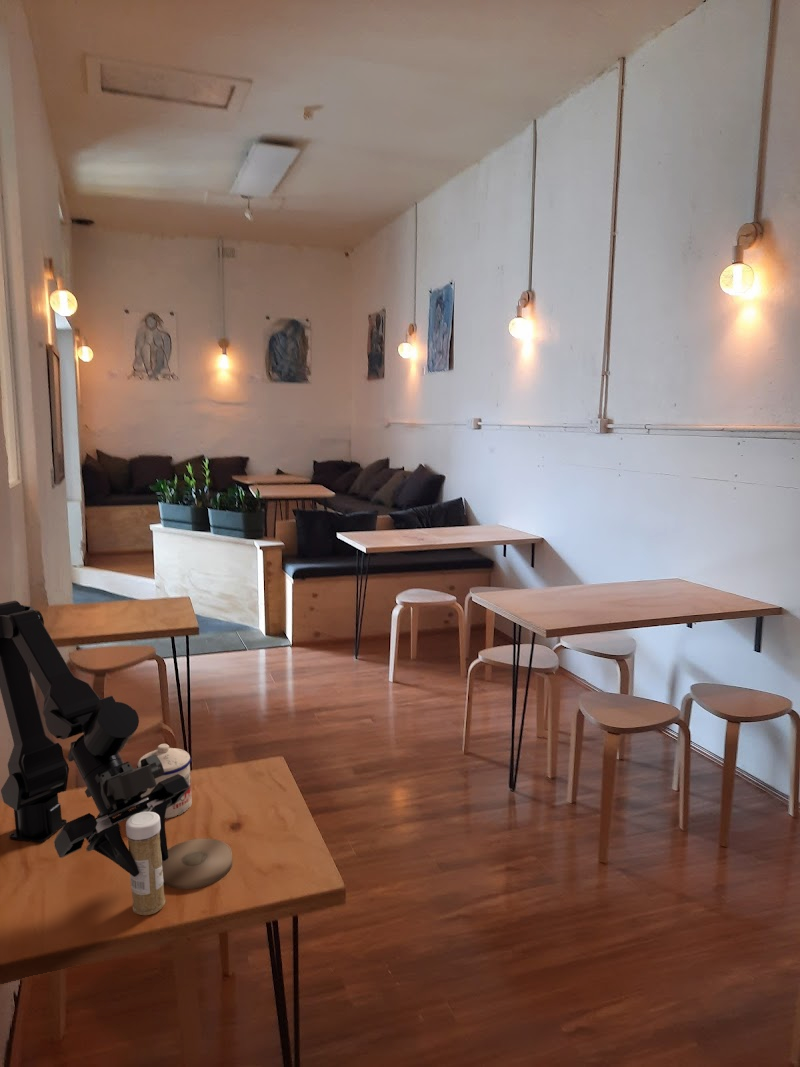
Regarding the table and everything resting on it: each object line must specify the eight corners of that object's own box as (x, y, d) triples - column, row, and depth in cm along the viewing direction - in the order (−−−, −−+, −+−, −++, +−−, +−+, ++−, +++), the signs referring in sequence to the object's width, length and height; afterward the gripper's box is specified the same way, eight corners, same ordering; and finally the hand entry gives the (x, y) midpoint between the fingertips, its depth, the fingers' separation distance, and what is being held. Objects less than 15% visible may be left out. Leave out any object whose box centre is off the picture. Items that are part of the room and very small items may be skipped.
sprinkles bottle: (172, 905, 107) (166, 817, 105) (143, 921, 104) (136, 831, 102) (154, 892, 110) (148, 806, 108) (125, 907, 107) (118, 819, 105)
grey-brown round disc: (144, 884, 112) (143, 875, 112) (181, 843, 123) (180, 835, 123) (212, 893, 110) (211, 884, 109) (243, 851, 120) (243, 842, 120)
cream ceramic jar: (182, 821, 129) (178, 757, 128) (131, 820, 130) (126, 756, 128) (205, 787, 141) (202, 728, 139) (158, 786, 142) (154, 727, 140)
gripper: (57, 768, 99) (109, 877, 94) (179, 722, 113) (229, 814, 108) (33, 805, 105) (81, 909, 100) (151, 757, 119) (198, 846, 114)
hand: (151, 867), depth 105 cm, fingers closed on sprinkles bottle, 4 cm apart
